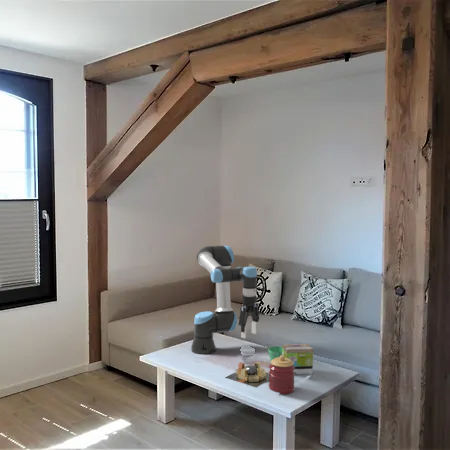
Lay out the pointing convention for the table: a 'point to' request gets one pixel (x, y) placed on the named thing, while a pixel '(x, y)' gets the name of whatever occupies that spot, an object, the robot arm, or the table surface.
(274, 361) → the canister
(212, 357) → the table surface
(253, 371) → the cap plate
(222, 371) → the table surface
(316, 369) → the table surface
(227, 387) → the table surface
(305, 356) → the tea box
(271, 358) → the mug
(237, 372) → the ring nut
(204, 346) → the robot arm
